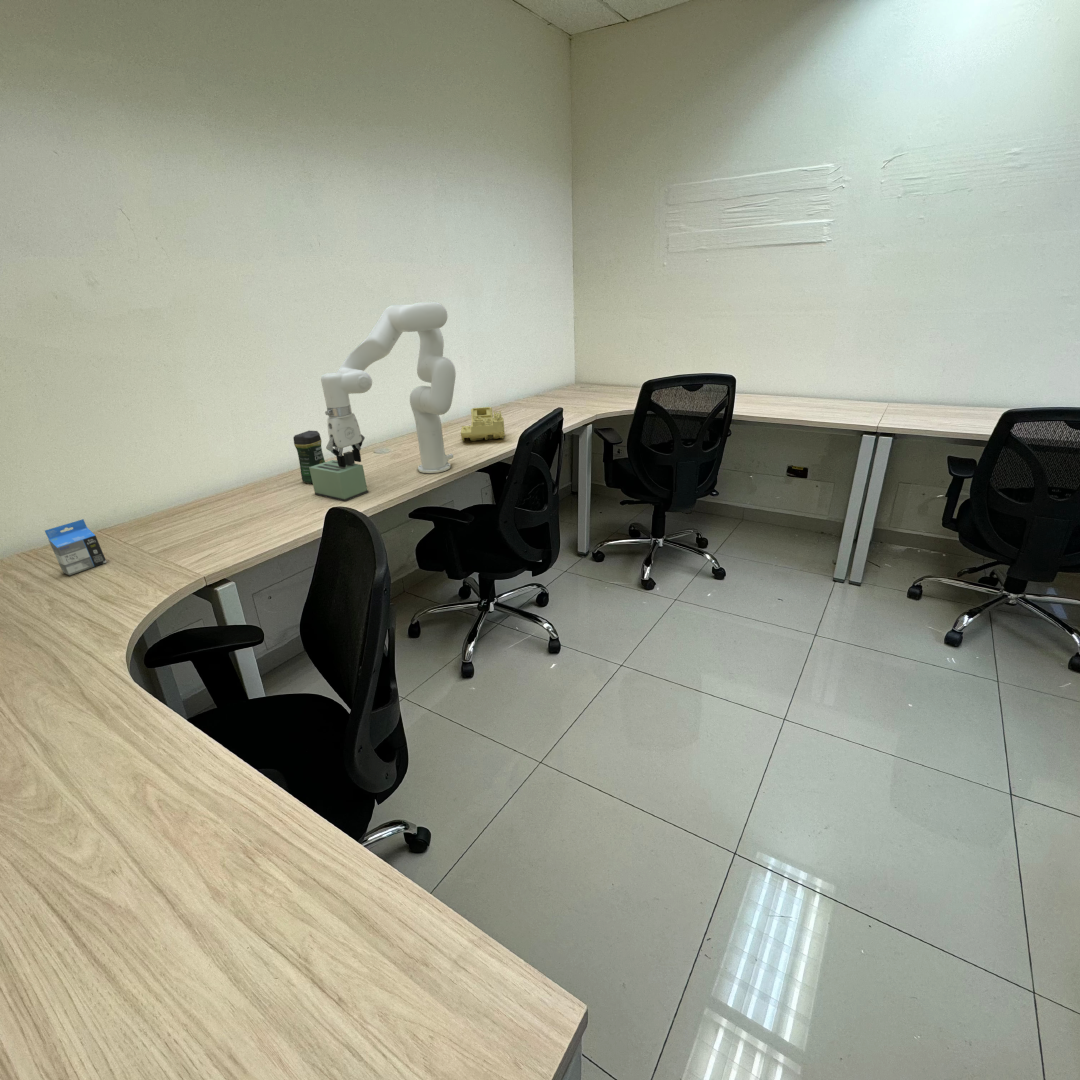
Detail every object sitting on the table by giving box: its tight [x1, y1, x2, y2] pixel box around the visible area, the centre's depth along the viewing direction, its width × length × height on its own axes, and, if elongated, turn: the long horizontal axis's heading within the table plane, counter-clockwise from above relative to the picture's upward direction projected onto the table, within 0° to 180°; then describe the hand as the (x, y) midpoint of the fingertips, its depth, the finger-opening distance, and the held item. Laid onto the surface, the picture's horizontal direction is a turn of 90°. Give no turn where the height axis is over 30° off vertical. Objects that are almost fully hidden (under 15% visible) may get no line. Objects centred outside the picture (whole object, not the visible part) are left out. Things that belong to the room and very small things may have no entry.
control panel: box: [460, 406, 506, 442], centre depth 255 cm, size 24×16×20 cm
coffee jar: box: [293, 430, 326, 484], centre depth 206 cm, size 10×8×19 cm
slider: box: [342, 451, 356, 465], centre depth 190 cm, size 2×2×4 cm
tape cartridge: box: [44, 518, 107, 576], centre depth 146 cm, size 9×4×12 cm, turn 148°
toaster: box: [309, 459, 369, 502], centre depth 192 cm, size 10×16×10 cm, turn 57°
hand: (350, 463), depth 190 cm, fingers open, 5 cm apart
